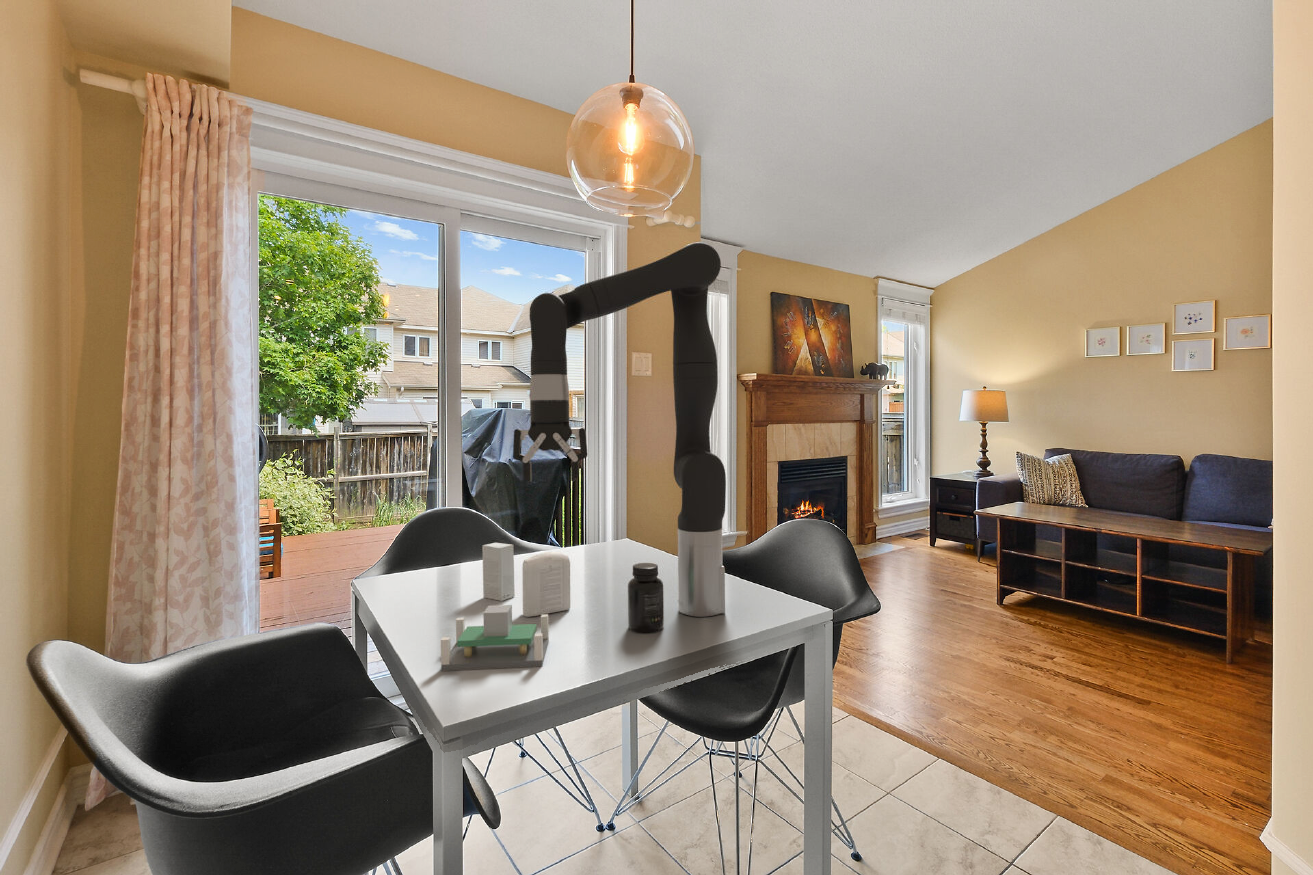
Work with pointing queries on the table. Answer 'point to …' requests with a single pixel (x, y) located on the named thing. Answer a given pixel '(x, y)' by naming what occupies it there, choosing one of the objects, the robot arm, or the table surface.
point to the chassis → (494, 652)
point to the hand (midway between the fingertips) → (551, 481)
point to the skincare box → (498, 571)
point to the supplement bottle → (645, 599)
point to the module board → (493, 641)
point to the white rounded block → (546, 584)
